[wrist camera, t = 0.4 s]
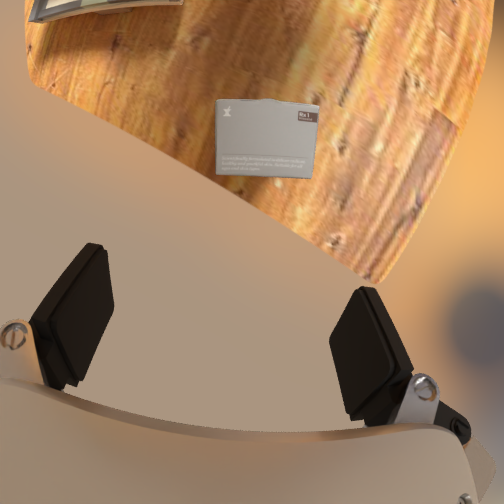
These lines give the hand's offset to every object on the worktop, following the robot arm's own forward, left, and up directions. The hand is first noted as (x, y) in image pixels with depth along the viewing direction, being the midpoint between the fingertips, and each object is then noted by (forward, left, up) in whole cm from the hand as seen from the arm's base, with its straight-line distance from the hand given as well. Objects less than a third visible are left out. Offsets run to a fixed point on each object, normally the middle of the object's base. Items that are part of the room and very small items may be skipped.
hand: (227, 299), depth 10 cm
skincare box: (-3, +1, -30) cm, 30 cm away
